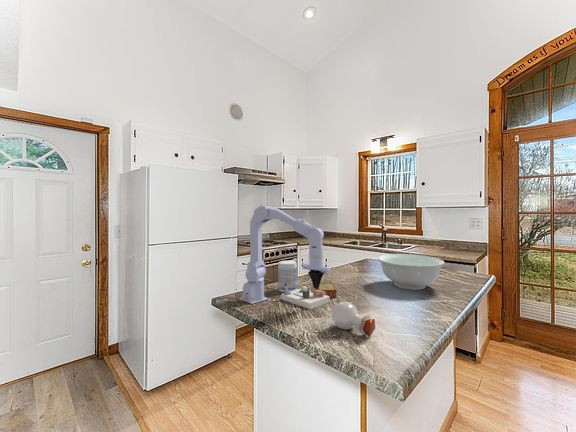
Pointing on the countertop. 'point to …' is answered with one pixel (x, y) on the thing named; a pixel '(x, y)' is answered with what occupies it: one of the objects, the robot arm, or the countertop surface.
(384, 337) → the countertop surface
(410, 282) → the bowl
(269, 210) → the robot arm
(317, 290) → the rocker
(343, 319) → the potion bottle
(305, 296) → the slider
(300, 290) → the button
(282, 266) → the supplement tub
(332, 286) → the carton
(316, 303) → the console
